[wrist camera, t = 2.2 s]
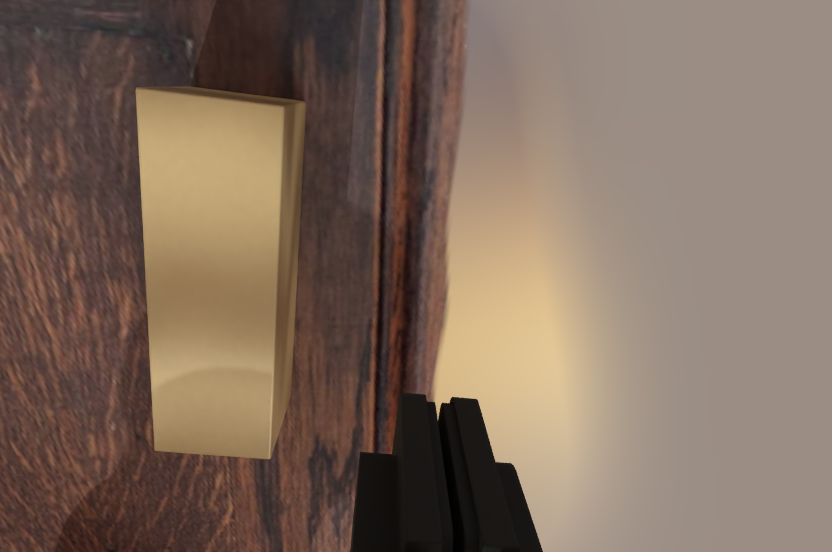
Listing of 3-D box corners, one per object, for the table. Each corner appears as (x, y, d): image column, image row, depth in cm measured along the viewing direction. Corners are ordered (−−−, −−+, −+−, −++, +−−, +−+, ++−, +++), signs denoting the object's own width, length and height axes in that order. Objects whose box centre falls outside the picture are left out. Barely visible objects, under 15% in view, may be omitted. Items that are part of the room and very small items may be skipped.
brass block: (188, 86, 18) (134, 86, 14) (306, 101, 18) (284, 106, 14) (194, 388, 22) (153, 451, 18) (291, 396, 22) (270, 460, 19)
